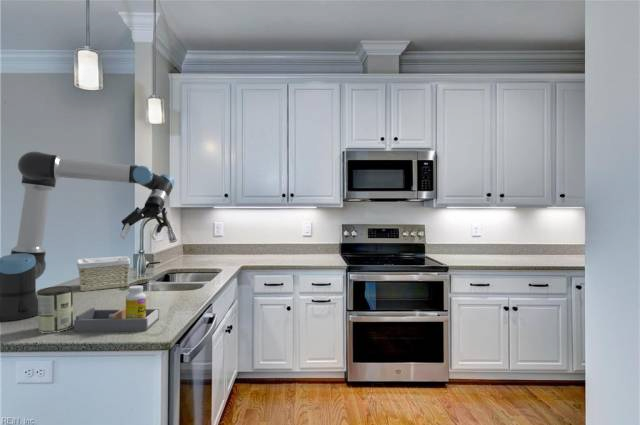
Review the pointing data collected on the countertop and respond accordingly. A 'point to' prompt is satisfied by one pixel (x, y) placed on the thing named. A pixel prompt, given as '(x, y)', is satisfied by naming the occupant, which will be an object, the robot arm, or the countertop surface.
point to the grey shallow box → (113, 321)
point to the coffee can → (55, 309)
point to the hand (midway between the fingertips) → (137, 237)
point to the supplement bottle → (135, 303)
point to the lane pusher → (119, 314)
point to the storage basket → (103, 273)
